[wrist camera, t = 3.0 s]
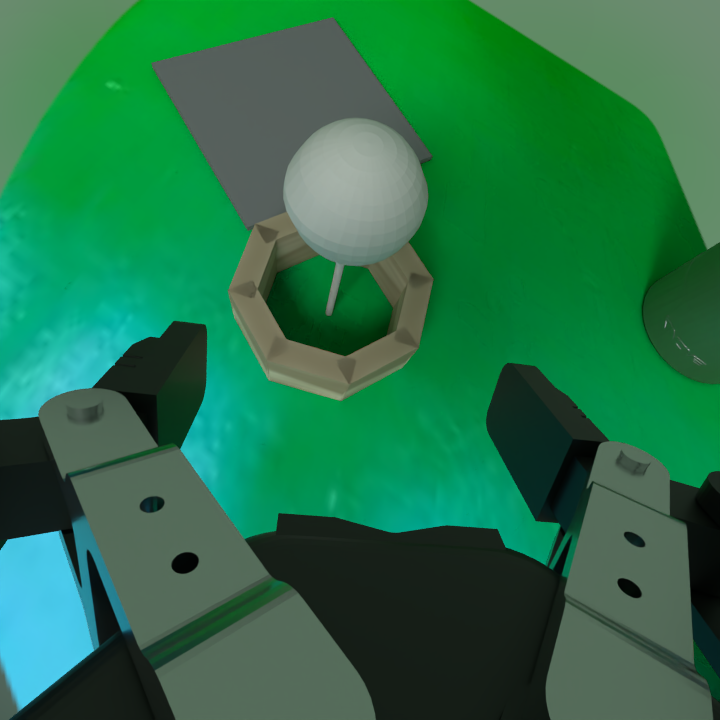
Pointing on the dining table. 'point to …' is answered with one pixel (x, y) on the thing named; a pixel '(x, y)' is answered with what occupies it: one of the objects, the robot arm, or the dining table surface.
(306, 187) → the lollipop
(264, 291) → the octagonal ring
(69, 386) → the dining table surface
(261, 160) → the mat
